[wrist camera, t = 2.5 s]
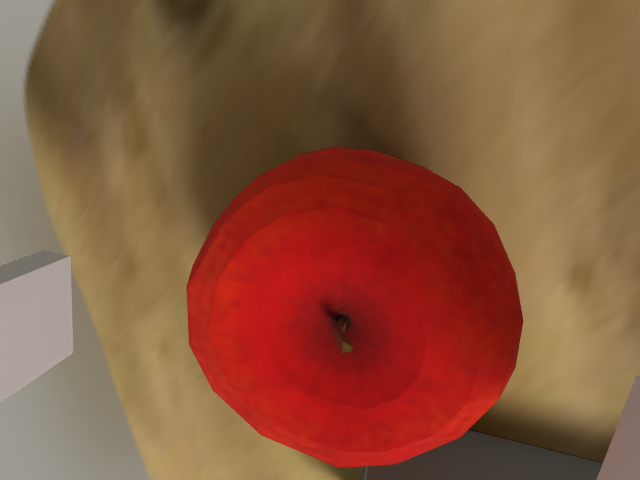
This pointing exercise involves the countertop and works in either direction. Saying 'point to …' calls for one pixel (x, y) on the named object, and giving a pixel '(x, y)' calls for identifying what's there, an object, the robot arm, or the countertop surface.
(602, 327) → the countertop surface
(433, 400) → the apple
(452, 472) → the grey tray
